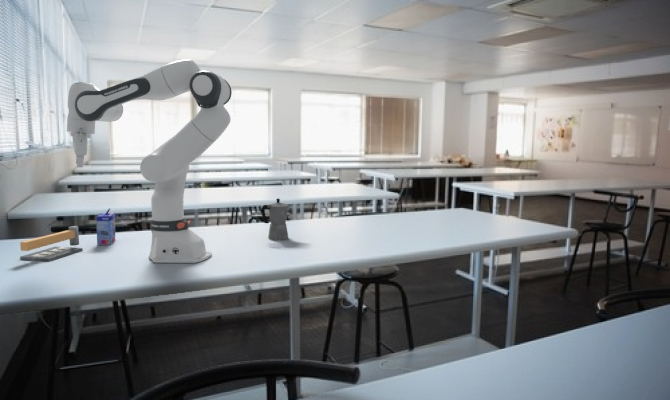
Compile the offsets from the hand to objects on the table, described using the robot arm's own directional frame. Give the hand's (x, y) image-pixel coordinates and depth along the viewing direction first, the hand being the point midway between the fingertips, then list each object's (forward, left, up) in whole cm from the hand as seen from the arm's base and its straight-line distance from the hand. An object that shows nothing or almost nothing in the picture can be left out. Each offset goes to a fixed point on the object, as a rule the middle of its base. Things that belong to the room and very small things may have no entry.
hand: (79, 165), depth 163 cm
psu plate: (+11, +3, -33) cm, 35 cm away
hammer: (+11, +3, -32) cm, 34 cm away
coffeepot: (-61, -44, -34) cm, 82 cm away
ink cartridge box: (+5, -19, -34) cm, 39 cm away
